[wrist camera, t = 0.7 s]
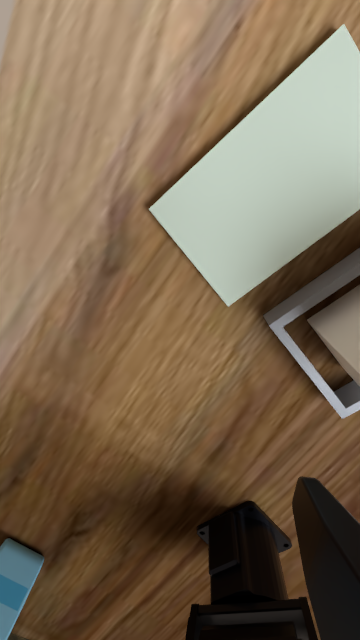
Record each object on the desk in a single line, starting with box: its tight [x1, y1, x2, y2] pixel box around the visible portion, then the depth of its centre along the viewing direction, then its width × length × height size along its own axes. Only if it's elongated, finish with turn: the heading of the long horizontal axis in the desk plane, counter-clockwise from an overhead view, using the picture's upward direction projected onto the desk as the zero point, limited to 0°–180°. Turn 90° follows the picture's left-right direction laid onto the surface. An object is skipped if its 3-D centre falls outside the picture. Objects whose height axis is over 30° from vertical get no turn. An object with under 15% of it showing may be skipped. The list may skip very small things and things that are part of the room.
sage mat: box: [149, 24, 360, 307], centre depth 17 cm, size 8×13×1 cm, turn 130°
